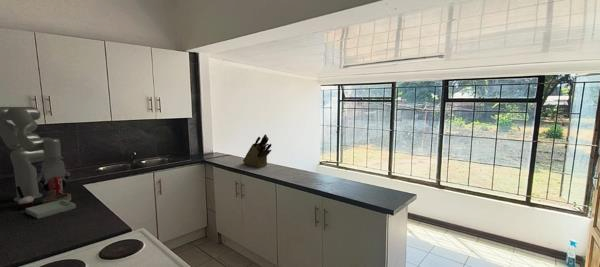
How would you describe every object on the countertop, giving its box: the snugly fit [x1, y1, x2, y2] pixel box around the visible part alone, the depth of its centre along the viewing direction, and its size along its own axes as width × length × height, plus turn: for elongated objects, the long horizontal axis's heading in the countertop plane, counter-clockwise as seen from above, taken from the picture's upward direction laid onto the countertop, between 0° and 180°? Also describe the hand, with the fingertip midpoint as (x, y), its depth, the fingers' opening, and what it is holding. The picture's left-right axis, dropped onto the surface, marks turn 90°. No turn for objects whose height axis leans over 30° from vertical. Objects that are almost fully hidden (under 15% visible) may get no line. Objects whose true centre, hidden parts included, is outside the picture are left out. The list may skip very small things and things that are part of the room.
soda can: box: [46, 176, 64, 197], centre depth 159 cm, size 7×7×12 cm
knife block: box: [242, 134, 272, 168], centre depth 256 cm, size 11×35×31 cm, turn 43°
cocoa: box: [15, 186, 35, 210], centre depth 150 cm, size 10×6×12 cm, turn 56°
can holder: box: [41, 193, 72, 205], centre depth 160 cm, size 12×12×3 cm
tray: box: [25, 200, 77, 220], centre depth 146 cm, size 16×16×2 cm
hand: (55, 188), depth 160 cm, fingers closed on soda can, 6 cm apart
